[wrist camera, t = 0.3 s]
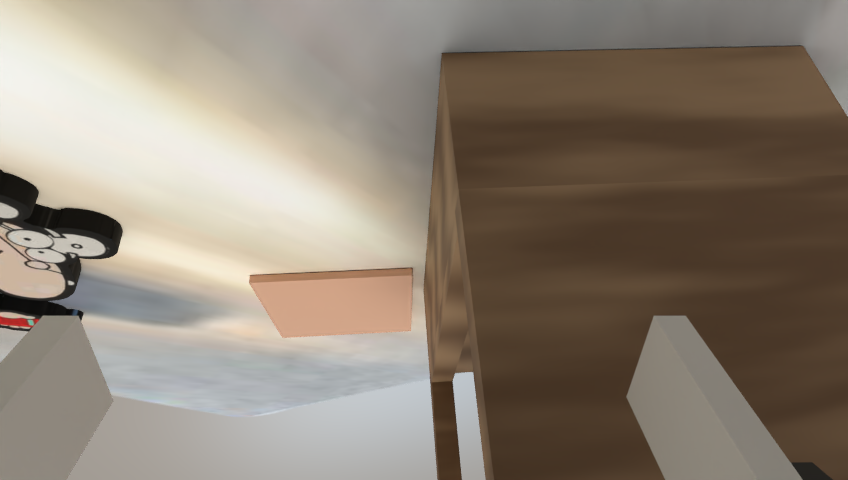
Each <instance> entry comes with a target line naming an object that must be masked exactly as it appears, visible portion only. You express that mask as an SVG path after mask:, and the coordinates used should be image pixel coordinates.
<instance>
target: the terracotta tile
mask: <svg viewBox="0 0 848 480" xmlns="http://www.w3.org/2000/svg"><path fill="white" fill-rule="evenodd" d="M412 276H413V275H412V268H406V269H384V270H362V271H340V272H318V273H296V274H275V275H253V276H250V280H249V283H250V285H251V287H252V288H253V290H254V292H255V293H256V295H257V297H258V298H259V300H260V302H261V303H262V305H263V307H264V308H265V310H266V311H267V313H268V315H269V316H270V318H271V320H272V321H273V323H274V325H275V326H276V328H277V330H278V331H279V333H280V335H281V336H282V338H287V337H306V336H325V335H344V334H362V333H381V332H400V331H411V309H412Z"/></svg>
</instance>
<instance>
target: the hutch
mask: <svg viewBox="0 0 848 480" xmlns="http://www.w3.org/2000/svg"><path fill="white" fill-rule="evenodd" d="M424 302H425V315H426V329H427V343H428V356H429V370H430V383H431V397H432V410H433V423H434V438H435V452H436V464H437V479H438V480H462V478H461V467H460V457H459V446H458V435H457V424H456V414H455V403H454V393H453V382H452V381H453V378H454V374H455V373H461V372H473V373H474V382H475V391H476V399H477V408H478V417H479V425H480V434H481V442H482V451H483V460H484V468H485V477H486V480H665V478H664V476H663V474H662V472H661V470H660V468H659V466H658V463H657V461H656V459H655V457H654V455H653V453H652V451H651V448H650V446H649V444H648V442H647V440H646V438H645V436H644V434H643V431H642V429H641V427H640V425H639V423H638V421H637V419H636V416H635V414H634V412H633V410H632V408H631V406H630V404H629V402H628V399H627V394H628V391H629V388H630V385H631V382H632V379H633V376H634V373H635V370H636V367H637V364H638V361H639V358H640V355H641V352H642V349H643V346H644V343H645V340H646V337H647V334H648V331H649V328H650V326H651V323H652V320H653V317H654V316H686V317H687V318H688V320H689V321H690V322H691V324H692V325H693V327H694V328H695V329H696V331H697V332H698V334H699V335H700V336H701V338H702V339H703V341H704V342H705V343H706V345H707V346H708V348H709V349H710V350H711V352H712V353H713V355H714V356H715V357H716V359H717V360H718V362H719V363H720V364H721V366H722V367H723V369H724V370H725V371H726V373H727V374H728V376H729V377H730V378H731V380H732V381H733V383H734V384H735V385H736V387H737V388H738V390H739V391H740V393H741V394H742V395H743V397H744V398H745V400H746V401H747V402H748V404H749V405H750V407H751V408H752V409H753V411H754V412H755V414H756V415H757V416H758V418H759V419H760V421H761V422H762V423H763V425H764V426H765V428H766V429H767V430H768V432H769V433H770V435H771V436H772V437H773V439H774V440H775V442H776V443H777V444H778V446H779V447H780V449H781V450H782V451H783V453H784V454H785V456H786V457H787V458H788V460H789V461H790V462H813V463H814V464H815V465H816V466H817V467H818V468H820V469H821V470H822V471H823V472H824V473H826V474H827V475H828V476H829V477H830V478H832V479H833V480H848V117H847V115H846V114H845V112H844V110H843V109H842V107H841V106H840V104H839V102H838V101H837V99H836V98H835V96H834V94H833V93H832V91H831V90H830V88H829V86H828V85H827V83H826V82H825V80H824V78H823V77H822V75H821V74H820V72H819V71H818V69H817V67H816V66H815V64H814V63H813V61H812V59H811V58H810V56H809V55H808V53H807V51H806V50H805V48H804V47H803V46H781V47H732V48H682V49H633V50H583V51H534V52H484V53H442V58H441V71H440V84H439V97H438V110H437V123H436V135H435V148H434V161H433V174H432V187H431V200H430V213H429V226H428V239H427V252H426V265H425V278H424Z"/></svg>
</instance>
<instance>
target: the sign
mask: <svg viewBox="0 0 848 480" xmlns="http://www.w3.org/2000/svg"><path fill="white" fill-rule="evenodd" d="M38 194H39V192H38V190H37V188H36V187H35V186H34V185H33V184H31V183H29V182H27V181H26V180H24V179H22V178H19V177H17V176H15V175H12V174H8V173H4V172H3V171H2V170H0V293H3V294H0V328H7V329H11V330H20V331H30V330H31V328H32V327H33V326H34V325H35V324H36V323H37V322H38V321H39V320H40V319H41V317H42V316H79V318H80V321H81V320H82V316H83V312H82V311H79V310H75V309H66V308H65V307H64V306H62V305H59V304H55V303H51V302H48V301H52V300H60V299H64V298H67V297H69V296H70V295H72V294H73V293H74V291H75V289H76V286H77V282H78V279H79V275H80V272H81V263H80V260H79V258H83V259H104V258H109V257H112V256H114V255H115V254H116V253H117V252H118V248H119V244H120V240H121V237H122V227H121V225H120V224H119V223H118V222H117V221H116V220H114V219H112V218H110V217H108V216H106V215H104V214H101V213H98V212H94V211H89V210H83V209H74V208H64V209H61V210H56V209H52V208H49V207H45V206H40V205H38V204H35V203H36V200H37V197H38Z"/></svg>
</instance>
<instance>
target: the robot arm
mask: <svg viewBox="0 0 848 480" xmlns="http://www.w3.org/2000/svg"><path fill="white" fill-rule="evenodd" d="M627 399H628V402H629V404H630V406H631V408H632V410H633V412H634V414H635V416H636V419H637V421H638V423H639V425H640V427H641V429H642V431H643V434H644V436H645V438H646V440H647V442H648V444H649V446H650V448H651V451H652V453H653V455H654V457H655V459H656V461H657V463H658V466H659V468H660V470H661V472H662V474H663V476H664V478H665V480H833V479H832V478H830V477H829V476H828V475H827V474H826V473H824V472H823V471H822V470H821V469H820V468H818V467H817V466H816V465H815V464H814V463H813V462H790V461H789V460H788V458H787V457H786V456H785V454H784V453H783V451H782V450H781V449H780V447H779V446H778V444H777V443H776V442H775V440H774V439H773V437H772V436H771V435H770V433H769V432H768V430H767V429H766V428H765V426H764V425H763V423H762V422H761V421H760V419H759V418H758V416H757V415H756V414H755V412H754V411H753V409H752V408H751V407H750V405H749V404H748V402H747V401H746V400H745V398H744V397H743V395H742V394H741V393H740V391H739V390H738V388H737V387H736V385H735V384H734V383H733V381H732V380H731V378H730V377H729V376H728V374H727V373H726V371H725V370H724V369H723V367H722V366H721V364H720V363H719V362H718V360H717V359H716V357H715V356H714V355H713V353H712V352H711V350H710V349H709V348H708V346H707V345H706V343H705V342H704V341H703V339H702V338H701V336H700V335H699V334H698V332H697V331H696V329H695V328H694V327H693V325H692V324H691V322H690V321H689V320H688V318H687V317H686V316H654V317H653V320H652V323H651V326H650V328H649V331H648V334H647V337H646V340H645V343H644V346H643V349H642V352H641V355H640V358H639V361H638V364H637V367H636V370H635V373H634V376H633V379H632V382H631V385H630V388H629V391H628V394H627ZM112 402H113V398H112V396H111V394H110V391H109V389H108V386H107V384H106V381H105V379H104V377H103V374H102V372H101V369H100V367H99V364H98V362H97V360H96V357H95V355H94V352H93V350H92V347H91V345H90V343H89V340H88V338H87V335H86V333H85V330H84V328H83V325H82V323H81V321H80V318H79V316H42V317H41V319H40V320H39V321H38V322H37V323H36V324H35V325H34V326H33V327H32V328H31V330H30V331H29V332H28V333H27V334H26V335H25V336H24V337H23V338H22V340H21V341H20V342H19V343H18V344H17V345H16V346H15V347H14V348H13V350H12V351H11V352H10V353H9V354H8V355H7V356H6V357H5V358H4V359H3V361H2V362H1V363H0V480H66V479H67V478H68V476H69V474H70V472H71V471H72V469H73V468H74V466H75V464H76V463H77V461H78V459H79V457H80V456H81V454H82V453H83V451H84V449H85V447H86V446H87V444H88V442H89V441H90V439H91V437H92V436H93V434H94V432H95V431H96V429H97V427H98V426H99V424H100V422H101V421H102V419H103V417H104V416H105V414H106V412H107V411H108V409H109V407H110V406H111V404H112Z"/></svg>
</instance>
